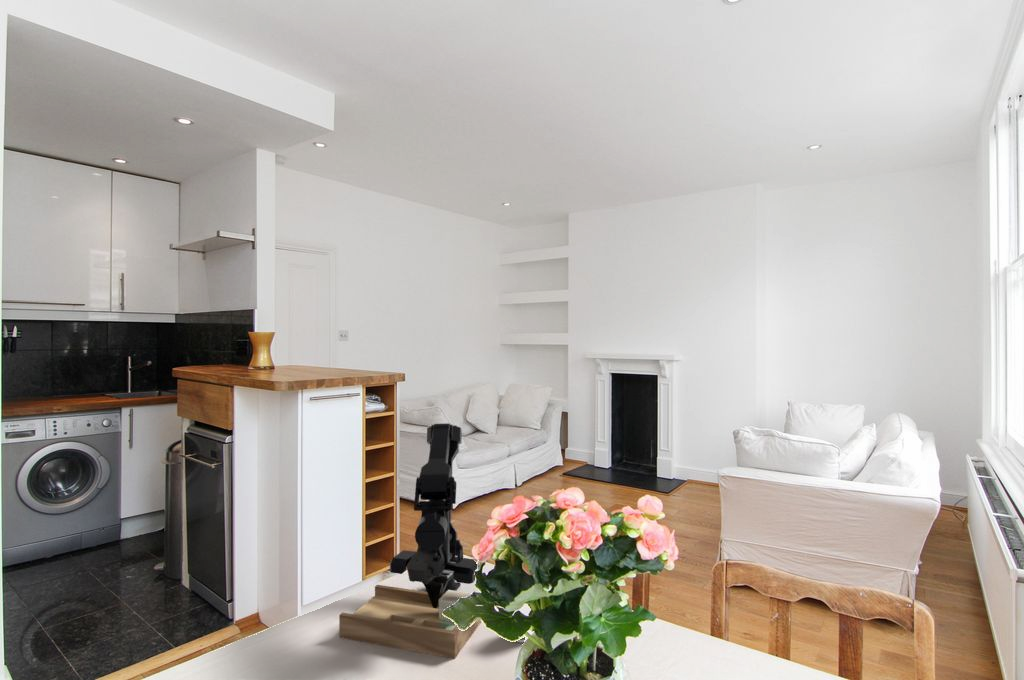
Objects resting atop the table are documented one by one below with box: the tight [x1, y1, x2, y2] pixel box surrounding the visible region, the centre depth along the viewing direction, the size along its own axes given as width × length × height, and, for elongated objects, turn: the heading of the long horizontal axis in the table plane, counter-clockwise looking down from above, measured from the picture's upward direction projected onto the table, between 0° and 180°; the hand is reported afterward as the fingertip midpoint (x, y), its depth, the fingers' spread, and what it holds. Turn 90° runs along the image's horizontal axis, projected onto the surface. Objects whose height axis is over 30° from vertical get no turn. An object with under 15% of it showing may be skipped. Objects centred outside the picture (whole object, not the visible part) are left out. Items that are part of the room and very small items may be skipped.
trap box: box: [338, 584, 482, 659], centre depth 111 cm, size 14×25×4 cm, turn 72°
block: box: [439, 590, 471, 621], centre depth 111 cm, size 4×5×4 cm
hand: (435, 607), depth 112 cm, fingers closed
